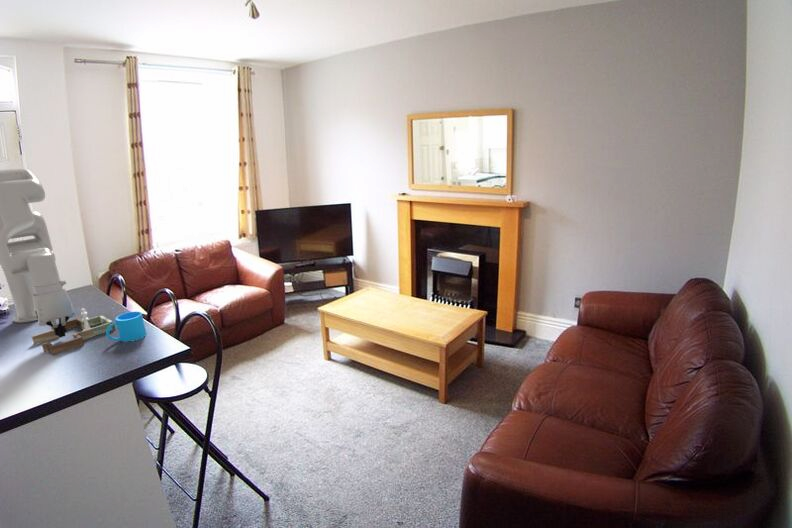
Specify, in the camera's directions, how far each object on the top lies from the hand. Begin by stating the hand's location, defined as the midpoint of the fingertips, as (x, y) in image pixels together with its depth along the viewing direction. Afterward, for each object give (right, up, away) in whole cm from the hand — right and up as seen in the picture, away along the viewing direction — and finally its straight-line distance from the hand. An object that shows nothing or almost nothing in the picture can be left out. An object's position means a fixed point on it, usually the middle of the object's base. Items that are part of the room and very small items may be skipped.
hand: (61, 335), depth 158 cm
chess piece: (+6, 0, +5) cm, 8 cm away
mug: (+24, -1, 0) cm, 24 cm away
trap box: (+2, -1, +2) cm, 3 cm away
